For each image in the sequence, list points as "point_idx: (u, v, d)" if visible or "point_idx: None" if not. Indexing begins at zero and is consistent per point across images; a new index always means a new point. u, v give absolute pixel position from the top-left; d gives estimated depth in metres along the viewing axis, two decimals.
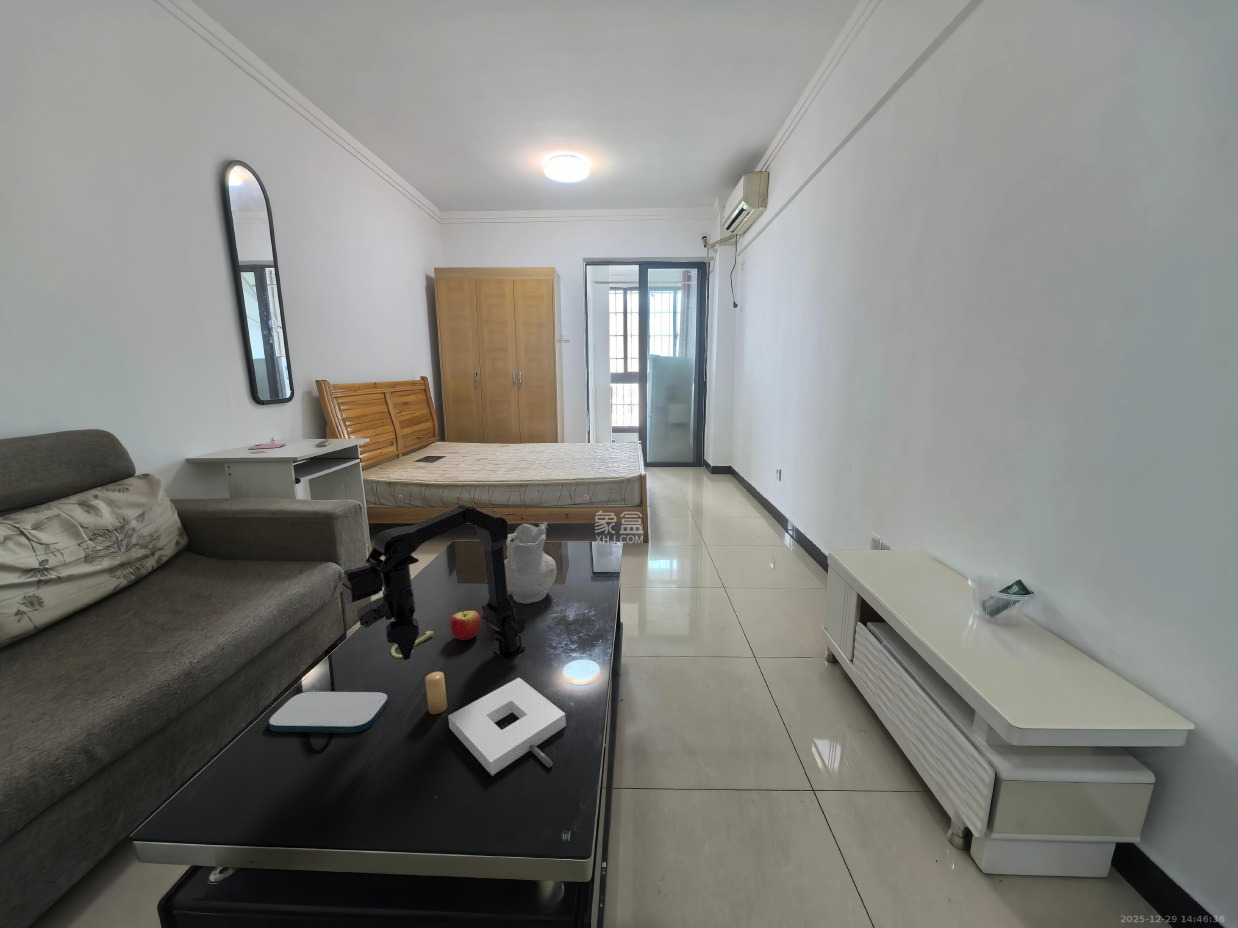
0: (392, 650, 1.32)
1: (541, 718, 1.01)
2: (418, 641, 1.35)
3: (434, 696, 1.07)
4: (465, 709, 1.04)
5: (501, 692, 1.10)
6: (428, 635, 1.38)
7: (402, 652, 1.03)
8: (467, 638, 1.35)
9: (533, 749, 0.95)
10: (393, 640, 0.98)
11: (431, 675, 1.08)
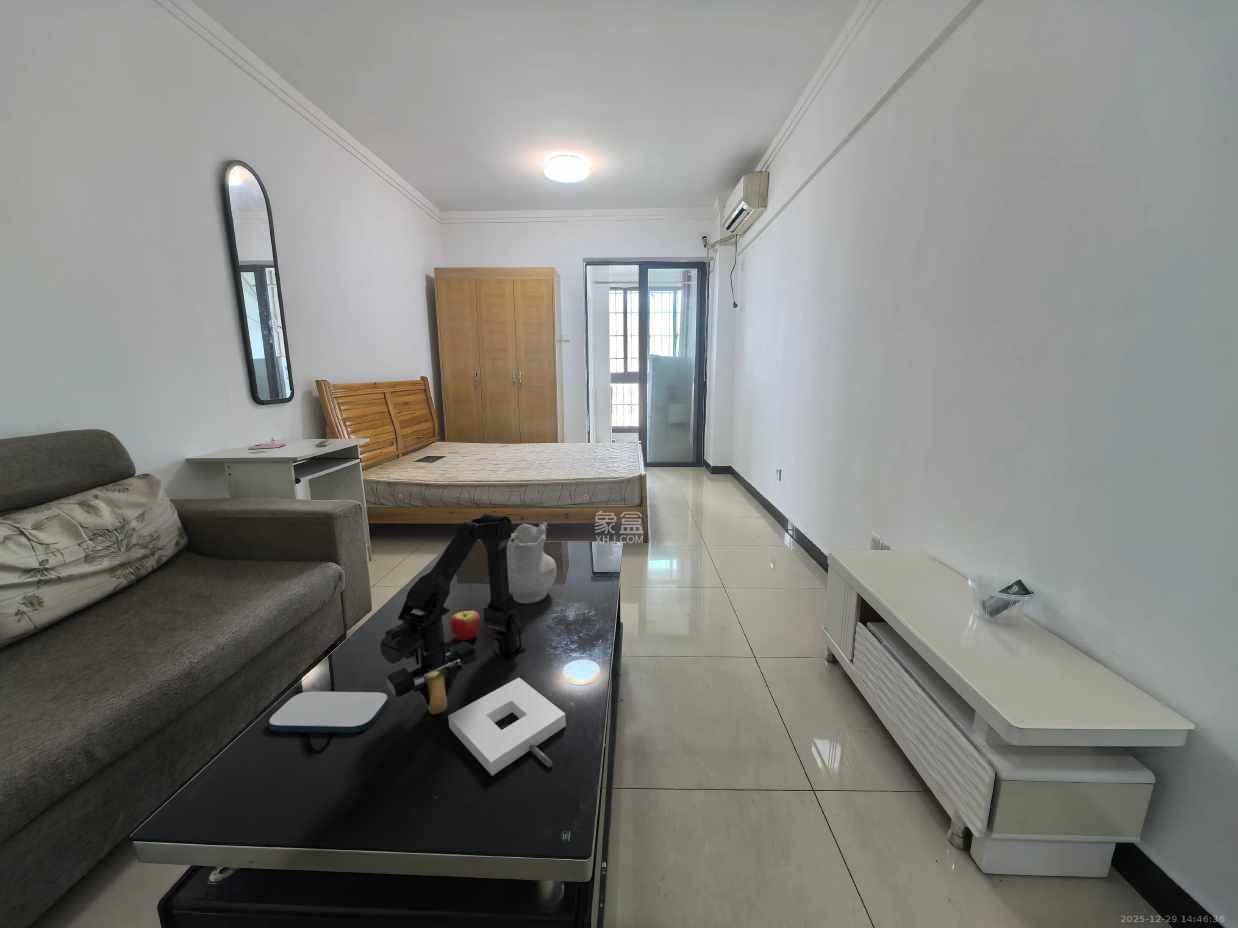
0: None
1: (541, 718, 1.01)
2: None
3: (434, 696, 1.07)
4: (465, 709, 1.04)
5: (501, 692, 1.10)
6: None
7: None
8: (467, 638, 1.35)
9: (533, 749, 0.95)
10: (387, 685, 1.02)
11: (431, 675, 1.08)
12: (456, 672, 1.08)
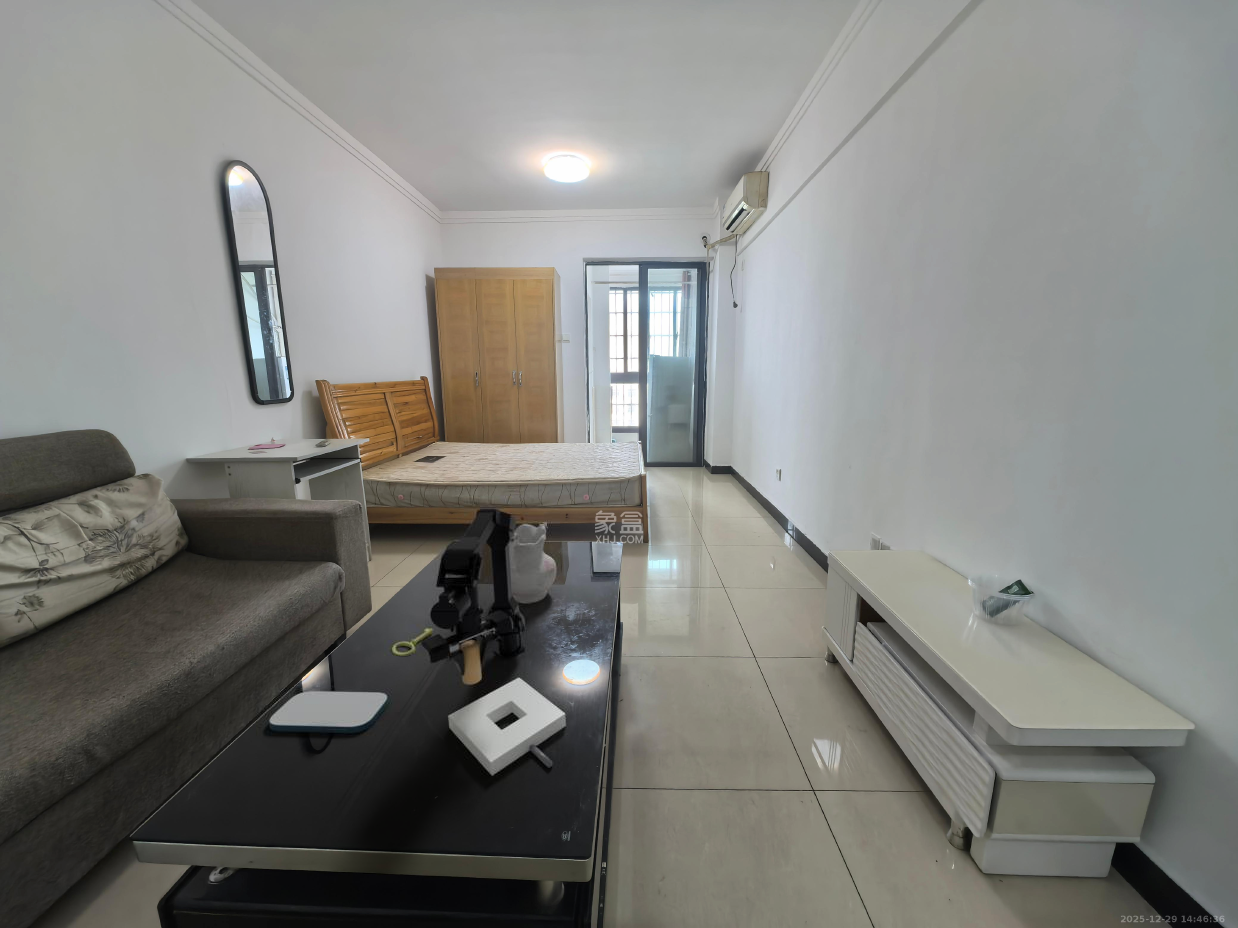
0: (393, 649, 1.33)
1: (541, 718, 1.01)
2: (419, 639, 1.37)
3: (468, 666, 1.01)
4: (465, 709, 1.04)
5: (501, 692, 1.10)
6: (428, 632, 1.39)
7: None
8: None
9: (533, 749, 0.95)
10: (421, 651, 0.97)
11: (465, 644, 1.03)
12: (492, 641, 1.03)
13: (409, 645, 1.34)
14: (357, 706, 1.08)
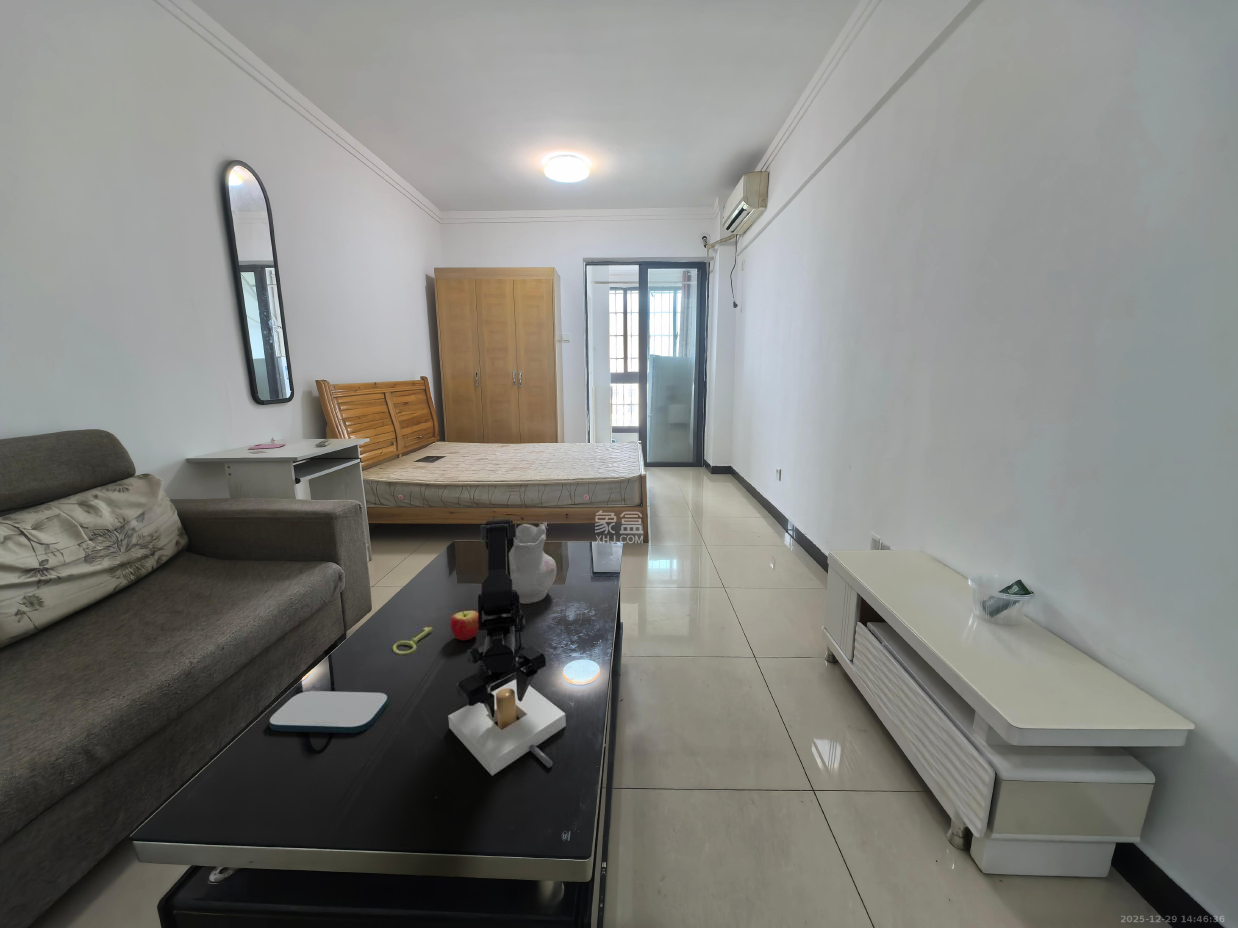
0: (394, 648, 1.33)
1: (541, 718, 1.01)
2: (419, 637, 1.37)
3: (505, 715, 1.00)
4: (465, 709, 1.04)
5: None
6: (427, 631, 1.40)
7: (485, 707, 0.99)
8: (467, 638, 1.35)
9: (533, 749, 0.95)
10: (458, 693, 0.96)
11: (501, 692, 1.02)
12: (532, 676, 1.03)
13: (410, 644, 1.35)
14: (357, 706, 1.08)
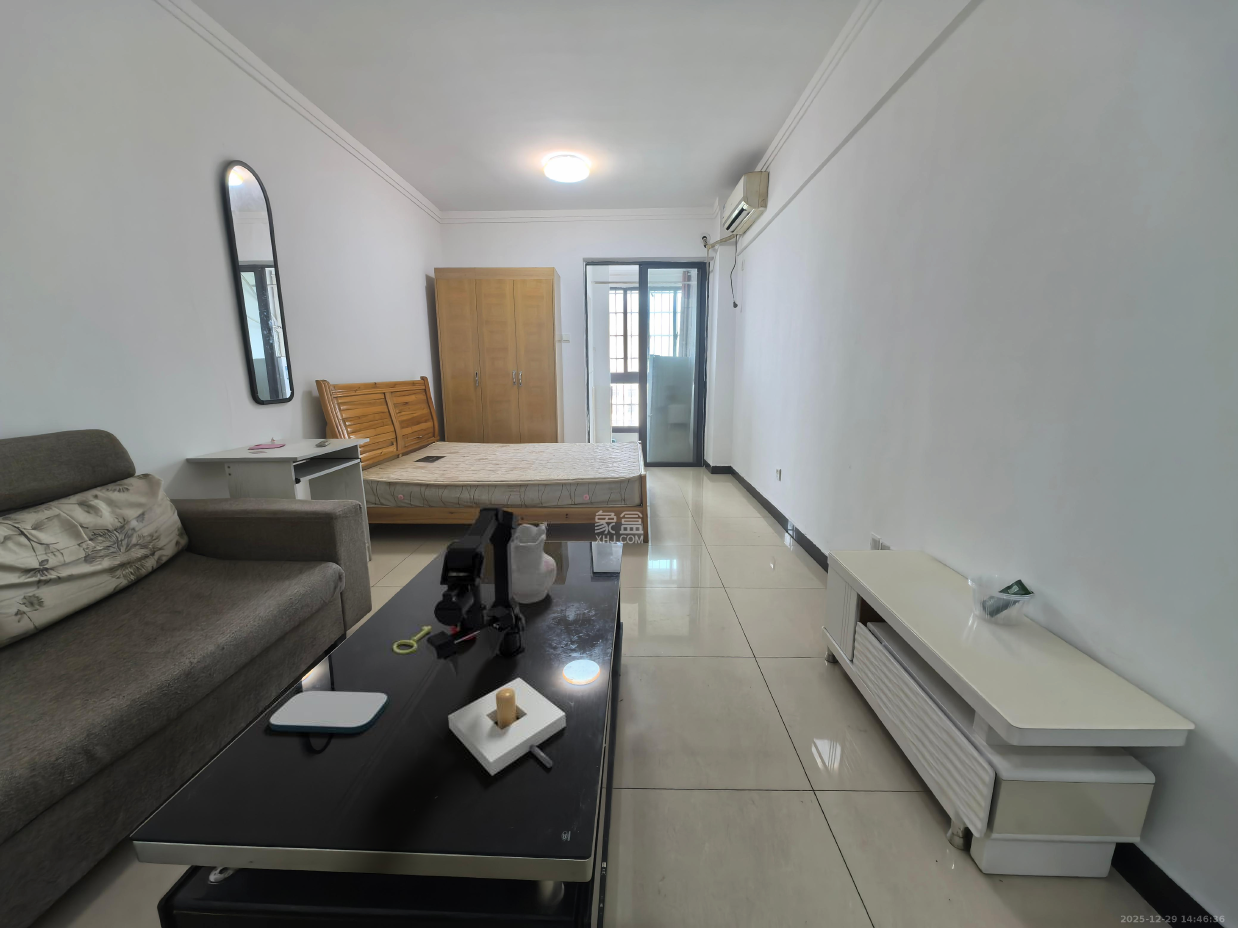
0: (395, 648, 1.33)
1: (541, 718, 1.01)
2: (419, 636, 1.38)
3: (505, 715, 1.00)
4: (465, 709, 1.04)
5: None
6: (427, 630, 1.41)
7: None
8: (467, 638, 1.35)
9: (533, 749, 0.95)
10: (427, 648, 0.99)
11: (501, 692, 1.02)
12: (504, 631, 1.07)
13: (410, 643, 1.35)
14: (357, 706, 1.08)
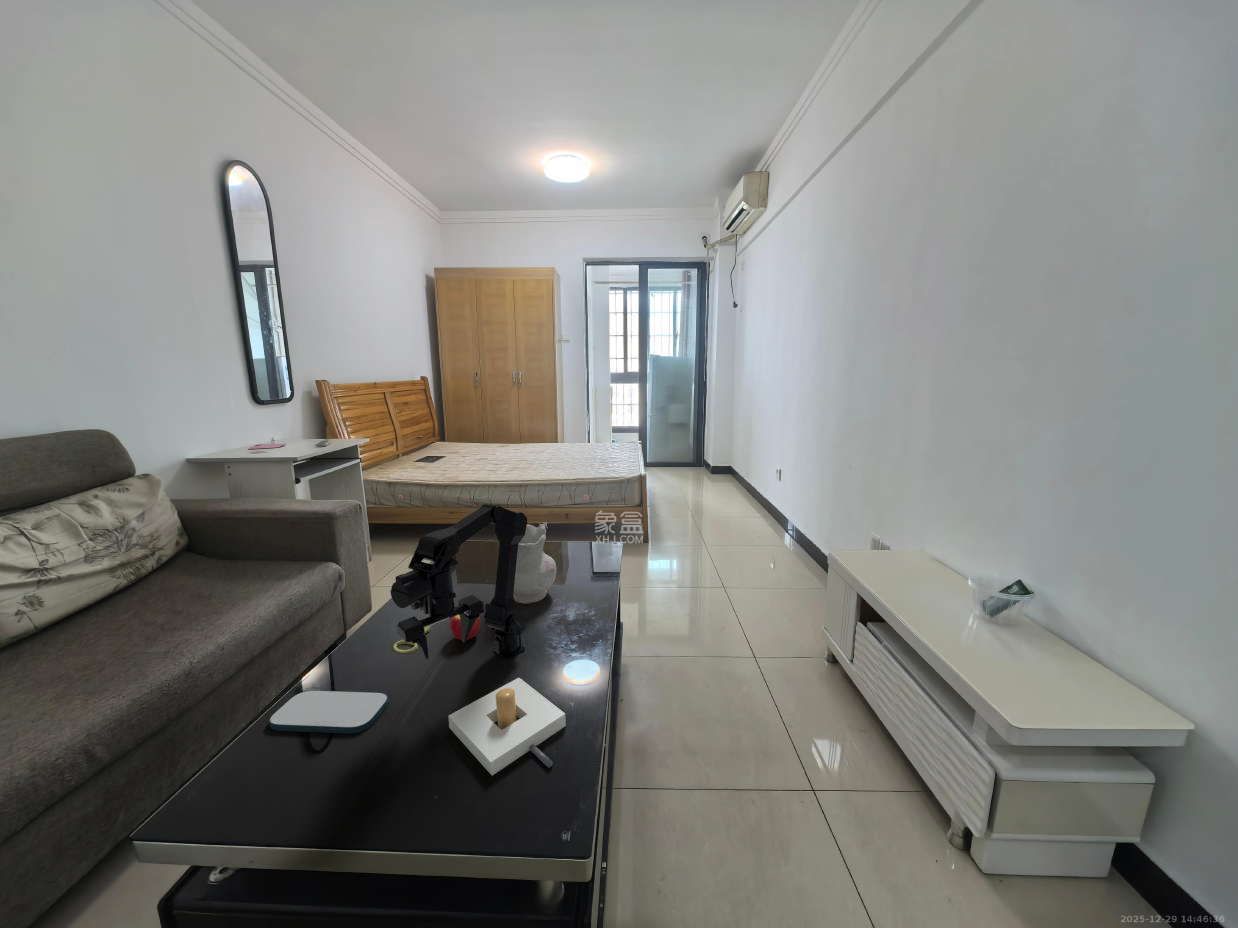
0: (395, 647, 1.33)
1: (541, 718, 1.01)
2: None
3: (505, 715, 1.00)
4: (465, 709, 1.04)
5: None
6: (426, 629, 1.41)
7: (420, 649, 1.07)
8: (467, 638, 1.35)
9: (533, 749, 0.95)
10: (398, 632, 1.05)
11: (501, 692, 1.02)
12: (474, 619, 1.12)
13: (410, 642, 1.35)
14: (357, 706, 1.08)
